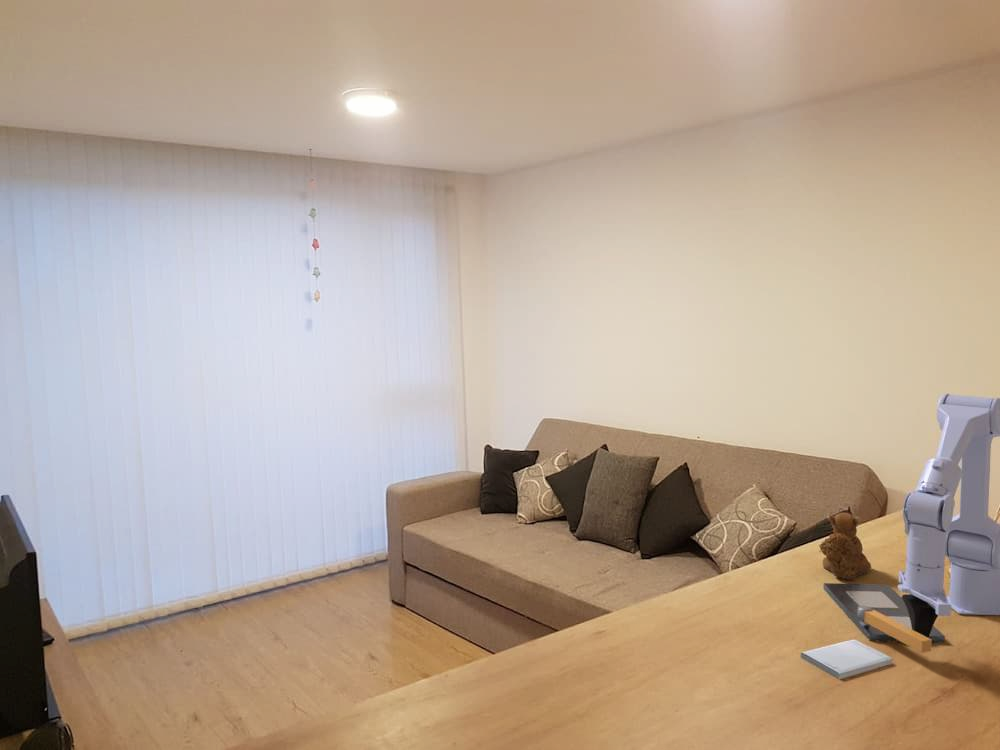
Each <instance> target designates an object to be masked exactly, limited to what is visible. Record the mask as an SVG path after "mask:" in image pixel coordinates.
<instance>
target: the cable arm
mask: <svg viewBox="0 0 1000 750" xmlns="http://www.w3.org/2000/svg"><path fill="white" fill-rule="evenodd" d="M857 618H858V619H859V620H860V621H864V622H866V623H868V624H869V625H871V626H873V627H875V628H877V629H879V630H880V631H882V632H884V633H886V634H888V635H890V636H892V637H893V638H895V639H897V640H899V641H898V642H900V643H903V644H904V645H907V646H908V647H910V648H912V649H914V650H916V651H917V652H919V653H928V652H931V651H932V643H933V642H932V640H931V639H929V638H927V637H926V636H924V635H922V634H920V633H918V632H916V631H914V630H912V629H910V628H908V627H906V626H904V625H902V624H900V623H898V622H896V621H894V620H893V619H891V618H889V617H887V616H885V615H883V614H881V613H879V612H877V611H875V610H873V608H871V607H868V606H858V615H857Z"/></svg>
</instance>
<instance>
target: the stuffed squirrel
mask: <svg viewBox="0 0 1000 750" xmlns="http://www.w3.org/2000/svg"><path fill="white" fill-rule="evenodd" d="M827 520H828V521H829V522H830V524H829V525H830V526H831V525H832V526H831V527H832V530H833V533H831V534H829V536H828V538H825V539H824V541H822V542H821V543H820V544H819V545H818V546H819V549H820V550H819V553H820V552H821V553H822V554H823V555H824V556H825V557H824V558H823V559H822V566H823V569H825V570H826V571H829V572H830V573H831V574H833V576H835V577H836V578H837V579H844V580H846V581H849V580H850V581H854V580H855V578H856V577H857V576H862V575H867V574H869V573H870V572H871V569H872V565H871V563H870V561H869V560H868V558H867V556H866V555H865V554H864V553H863V549H864V548H863V544H862V542H861V540H860V538H859V537H858V535H857V532H858V530H857V528H858V525H859V523H860V521H861V518H860V517H859V516H854V515H852V514H851V513H849V512H839V513H838V514H835V515H827Z"/></svg>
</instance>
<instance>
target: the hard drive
mask: <svg viewBox="0 0 1000 750" xmlns="http://www.w3.org/2000/svg"><path fill="white" fill-rule="evenodd" d="M800 658H801V659H802V660H804V661H806V663H807V662H808V663H809V664H811V665H812V666H815V667H816V668H818V669H820V670H821V671H823V672H825V673H827V674H829V675H830V676H832V677H833V678H836V679H838V680H841V679H845V678H848V677H851V676H856V675H858V674H862V673H866V672H868V671H872V670H876V669H879V667H880V668H882V667H886V666H890V665H893V662H894V661H893V658H892V657H891V656H889V655H887V654H885V653H883V652H881V651H879V650H877V649H875V648H873V647H870V646H869V645H867V644H865V643H863V642H860V641H858V640H856V639H851V640H845V641H841V642H837V643H834V644H833V643H832V644H830V645H826V646H823V647H818V648H814V649H809V650H805V651H803V652H800Z"/></svg>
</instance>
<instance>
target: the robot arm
mask: <svg viewBox="0 0 1000 750" xmlns="http://www.w3.org/2000/svg"><path fill="white" fill-rule="evenodd" d="M936 420H937V423H939V424H938V425H939V429H940V430H941V431H942V432H941V434H940V435H941V437H940V439H939V443H938V447H937V451H936V455H935V457H931V458H930V459H927V461H926V462H925V464H924V467H923V469H922V472H921V475H920V477H919V480H918V482H917V485H916V488H915V490H914V491H913V492H912V493H911V492H910V493H907V494H906V496H905V499H904V501H903V502H904V503H903V509H902V519H903V521H904V533H905V534H906V535H907V537H906V538H907V540H906V556H905V557H906V559H905V570H904V571H903V570H900V571H898V582H899V583H900V584H899V583H898V585H897V589H898V590H899V591H900V593H906V594H902V595H901V597H902V599H903V601H904V603H905V605H906V607H907V610H908V613H909V616H910V621H911V626H912V630H914V631H916V632H918V633H920V634H922V635H924V636H926V637H927V638H929V635H930V633H931V630H932V627H933V626H934V625H935V622H936V620H937V618H938V617H939V616H940V617H943V616H945V617H951V616H952V610H953V611H955V612H956V613H957V614H959V615H972V616H973V615H975V616H978V615H979V616H1000V523H998V522H997V521H995V520H994V519H993V518H991V517H990V516H989V501H990V498H989V497H990V480H991V479H990V478H991V477H990V475H991V473H990V472H991V455H992V454H991V452H992V450H991V449H992V442H993V438H997V437H999V438H1000V398H999V397H995V398H993V397H983V396H981V397H980V396H969V395H960V394H950V393H944V394H943V395H942V396H941V397H940V398H939V399H938V402H937V407H936ZM960 462H961V463H960ZM959 463H960V464H961V465H959ZM960 466H961V467H960ZM959 485H960V493H959V494H960V498H959V499H960V500H959V513H958V514H956V515H954V508H955V504H956V501H955V495H956V493H957V490H958V487H959ZM946 558H947V559H948V561H947V562H950V577H949V578H950V579H949V592H948V593H949V595H947V594H946V591H945V588H944V580H945V563H946V561H945V560H946ZM907 593H908V594H907Z"/></svg>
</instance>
